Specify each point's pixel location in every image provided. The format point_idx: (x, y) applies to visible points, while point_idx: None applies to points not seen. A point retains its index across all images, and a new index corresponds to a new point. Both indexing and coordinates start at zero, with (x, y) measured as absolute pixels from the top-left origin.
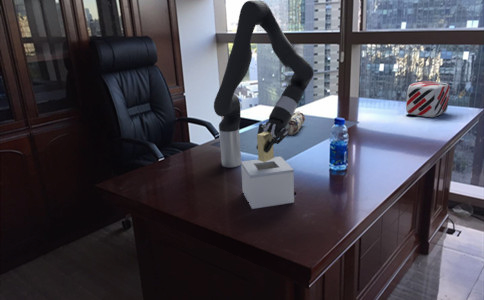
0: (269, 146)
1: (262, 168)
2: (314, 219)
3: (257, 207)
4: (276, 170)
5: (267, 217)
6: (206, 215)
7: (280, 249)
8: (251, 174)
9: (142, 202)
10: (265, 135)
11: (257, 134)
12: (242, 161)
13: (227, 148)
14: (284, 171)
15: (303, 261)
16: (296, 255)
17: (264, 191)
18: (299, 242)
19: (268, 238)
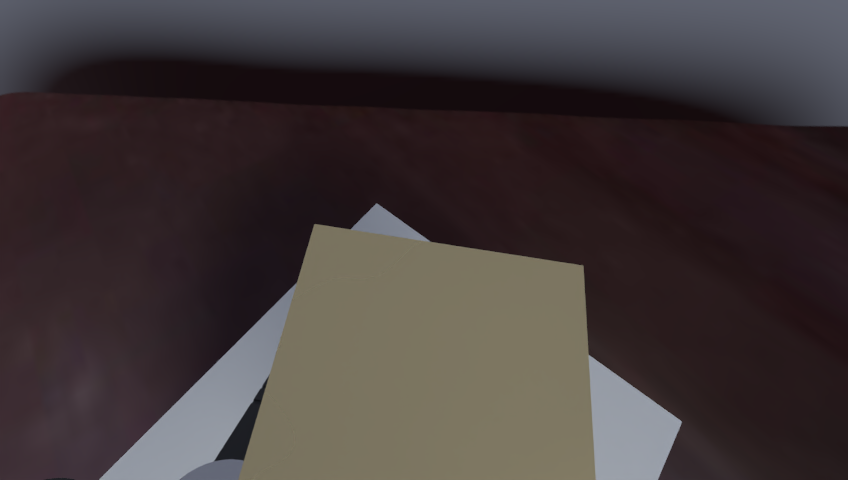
0: (249, 416)
1: None
2: (20, 376)
3: None
4: (222, 410)
5: (267, 270)
6: (505, 163)
7: (118, 118)
8: (382, 223)
9: (779, 125)
10: (284, 351)
11: (564, 269)
12: (674, 433)
13: None
14: (135, 445)
15: (17, 101)
16: (50, 115)
17: None
18: (57, 178)
19: (188, 149)
